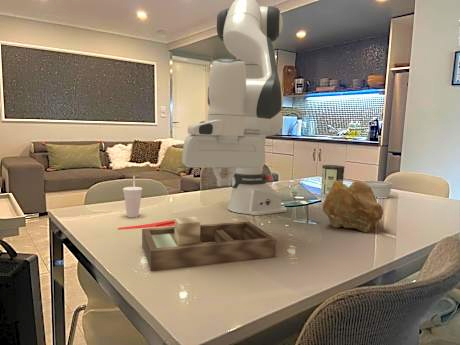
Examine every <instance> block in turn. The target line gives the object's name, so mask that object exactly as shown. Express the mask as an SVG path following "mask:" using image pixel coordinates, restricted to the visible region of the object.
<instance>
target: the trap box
mask: <svg viewBox="0 0 460 345" xmlns="http://www.w3.org/2000/svg"><path fill="white" fill-rule="evenodd" d="M174 233H175V226H165V227H150V228H141V245H142V249H143V252H144V255H145V257H146V261H147V264H148V266H149V270H150V271H161V270H167V269H168V270H169V269H170V270H171V269H177V268H178V269H179V268H188V267H195V266H203V265H212V264H213V265H214V264H221V263H230V262H231V263H232V262H240V261H248V260H257V259H267V258H275V257H276V254H277V253H276V251H277V239H276V238H275V237H273V236H272V235H270V234H269V233H267V232H266V231H264V230H263V229H261V228H260V227H258V226H257V225H255V224H253V222H251V221H249V220H248V221H237V222H224V223H220V222H219V223H208V224H200V243H196V244H185V245H178V243H177V241H176V240H175V238H174ZM238 239H239V240H238ZM241 239H242V240H241ZM206 242H209V243H206ZM210 242H211V243H210Z"/></svg>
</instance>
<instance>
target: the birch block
mask: <svg viewBox="0 0 460 345" xmlns="http://www.w3.org/2000/svg"><path fill="white" fill-rule="evenodd" d="M174 220H175V226H174V227H175V233H174V238H175V240H176V241H177V243H178V245H185V244H196V243H200V225H201V221H200V220H199V219H198V218H197V217H196V216H187V217H185V216H184V217H175V218H174Z"/></svg>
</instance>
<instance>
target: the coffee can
mask: <svg viewBox="0 0 460 345" xmlns="http://www.w3.org/2000/svg"><path fill="white" fill-rule="evenodd" d="M321 167H322V173H321V186H320V190H321V191H320V195H321V196H324V197H327V195H328V193H329V191H330V189H331V187H332V185H333V183H334V182H335V181H340V182H342V183H343V184H344V175H345V166H344V165H338V164H337V165H336V164H323V165H322V166H321Z"/></svg>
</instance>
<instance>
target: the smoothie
mask: <svg viewBox="0 0 460 345" xmlns="http://www.w3.org/2000/svg"><path fill="white" fill-rule="evenodd" d="M132 176H133V177H132V178H133V179H132V182H133V184H132V185H133V186H127V187H124V188H122V192H123V195H124V202H125V208H126V209H125V211H126V217H127V216H128V217H127V218H129V217H136V218H139V213H140V206H141V198H142V192H143V187H141V186H140V187H139V186H136V176H135V175H132Z"/></svg>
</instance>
